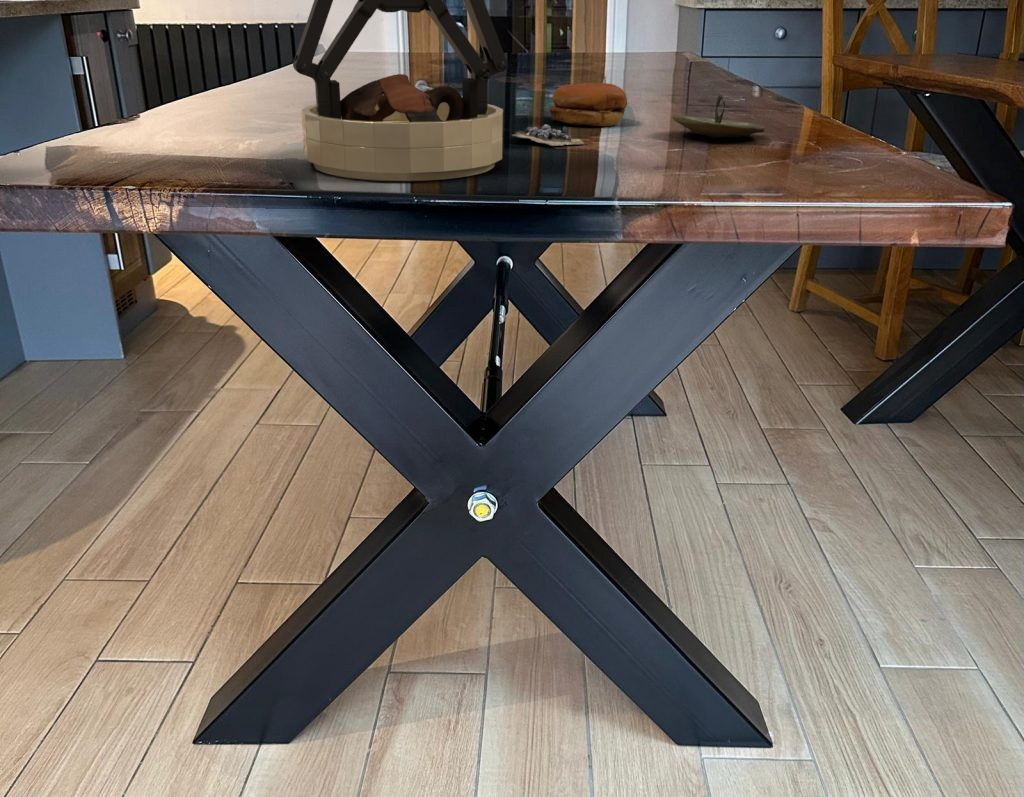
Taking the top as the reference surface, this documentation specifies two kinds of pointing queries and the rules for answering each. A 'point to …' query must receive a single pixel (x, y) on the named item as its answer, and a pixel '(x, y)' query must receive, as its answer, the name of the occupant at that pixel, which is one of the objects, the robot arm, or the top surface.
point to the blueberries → (547, 136)
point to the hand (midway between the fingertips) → (405, 153)
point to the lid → (718, 125)
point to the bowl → (403, 146)
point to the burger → (589, 104)
